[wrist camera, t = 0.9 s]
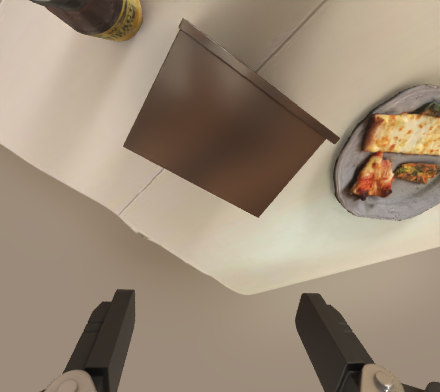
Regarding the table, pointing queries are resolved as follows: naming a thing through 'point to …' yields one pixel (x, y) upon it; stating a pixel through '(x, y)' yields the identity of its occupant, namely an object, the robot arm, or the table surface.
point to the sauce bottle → (98, 16)
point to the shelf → (223, 125)
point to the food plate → (393, 158)
